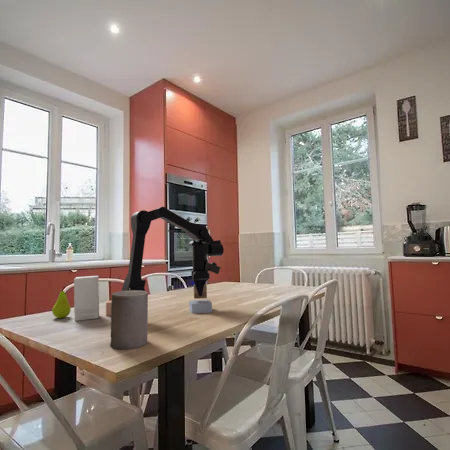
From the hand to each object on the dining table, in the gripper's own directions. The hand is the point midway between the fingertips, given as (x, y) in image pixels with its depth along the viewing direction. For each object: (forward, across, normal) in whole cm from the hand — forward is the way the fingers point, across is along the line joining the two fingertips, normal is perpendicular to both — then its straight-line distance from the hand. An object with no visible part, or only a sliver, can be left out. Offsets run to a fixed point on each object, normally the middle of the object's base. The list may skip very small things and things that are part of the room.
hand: (200, 295), depth 125 cm
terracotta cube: (+7, +3, +35) cm, 36 cm away
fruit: (+7, 0, +53) cm, 53 cm away
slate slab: (+7, 0, 0) cm, 7 cm away
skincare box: (+7, -3, +43) cm, 44 cm away
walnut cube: (+1, 0, 0) cm, 1 cm away
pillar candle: (+7, -39, +22) cm, 45 cm away
